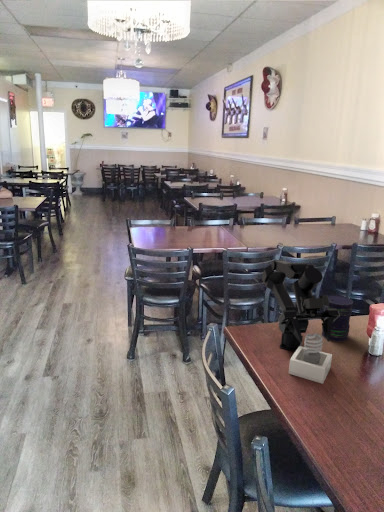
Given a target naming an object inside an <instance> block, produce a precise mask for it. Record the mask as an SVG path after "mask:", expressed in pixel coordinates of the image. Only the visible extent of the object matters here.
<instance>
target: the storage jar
mask: <svg viewBox="0 0 384 512" xmlns="http://www.w3.org/2000/svg"><path fill="white" fill-rule="evenodd" d="M327 297H328V299H329V305H324V308H323V312H324V311H325V310H326V309H337V310H338V311H339V314H340V317H338V318H337V319H336V320H335V321H334V322H333V323H332V327H331V337H330V341H331V342H339V343H341V342H346V341H348V339H349V333H350V327H351V326H350V320H351V319H350V318H351V316H352V311H353V304H354V301H353V300H352V298H349V297H346V296H342V295H336V294H335V295H327ZM321 329H322V330H321V336H322V337H323V339H326V336H325V333H324V330H323V327H322V326H321Z"/></svg>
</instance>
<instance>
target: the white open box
mask: <svg viewBox="0 0 384 512" xmlns="http://www.w3.org/2000/svg"><path fill="white" fill-rule="evenodd" d="M305 350H307V348H305V346H303V345H302V346H299V347H298V349H297V350H296V351H294V352H293V354H292V356H291V358H290V359H289V364H288V365H289V366H288V374H289V375H293V376H296V377H299V378H302V379H306V380H309V381H311V382H316V383H319V384H324V382H325V380H326V378H327V376H328V374H329V372H330V369H331V365H332V359H333V358H332V357H333V354H332V353H328V352H324V351H322V350H321V351H320V352H319V353H320V354H321V358H320V362H319V364H316V365H315V364H311V363H307V362H305V361H304V359H303V354H304V351H305Z"/></svg>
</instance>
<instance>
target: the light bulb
mask: <svg viewBox="0 0 384 512" xmlns="http://www.w3.org/2000/svg"><path fill="white" fill-rule="evenodd" d="M323 339H324V337H323V336H322V334H319V333H318V332H317V333H316V332H314V333H313V334H312V333H307V334H305V337H304V342H303V343H304V346H303V347H305V348H307V350H305V351H304V354H303V359H304V361H305V362H307V363H311V364H315V365H316V364H319V362H320V358H321V354H320V353H319V352H320V351H321V352H322V349H323V343H324V340H323Z"/></svg>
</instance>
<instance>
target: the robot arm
mask: <svg viewBox="0 0 384 512" xmlns="http://www.w3.org/2000/svg"><path fill="white" fill-rule="evenodd" d="M261 276H262V277H261V279H262V282H263V284H264V286H265V287H266V288H267V289H269V290H271V291H272V293H273V295H274V297H275V299H276V300H277V303H278V305H279V307H280V308H281V312H282V313H281V314H280V315H279V317H278V321H279V322H278V329H279V330H280V332H281V341H280V344H279V348H281V349H284V350H288V351H292V352H295V351H296V350H297V349H298V347H299V346H302V347H303V343H304V342H303V340H304V339H303V338H304V336H303V335H302V334H306V333H307V330H308V328H309V320H319V319H320V320H321V321H322V323H321V328H322V327H323V330H324V333H325V336H326V338H325V339H326V340H327V342H330V341H331V340H330V337H331V327H332V323H333V322H334V321H335V320H336V319H337V318H338V317H340V314H339V311H338V310H337V309H326V310H325V311H324V310H323V311H322V312H320V311H321V309H325V305H329V299H328V297H327V296H328V295H327V294H324V295H320V296H319V298H318V297H317V298H316V295H314V294H313V290H314V289H315V288H316V287H317V286H318V285H319V284H320V283H321V281H322V280H323V274H322V273H321V271H320V270H319V269H318V268H315V266H314V264H308V263H307V262H289V261H287V260H284V259H273V260H272V261H271V263H270V264H269V265H267V267H265V268H264V270H263V273H262V275H261ZM286 279H289V280H295V281H294V282H293V284H292V286H291V290H292V291H293V293H294V298H295V303H294V302H293V299H292V298H291V296H290V294H289V292H288V291H287V288H286V286H285V284H284V283H285V281H286Z"/></svg>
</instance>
